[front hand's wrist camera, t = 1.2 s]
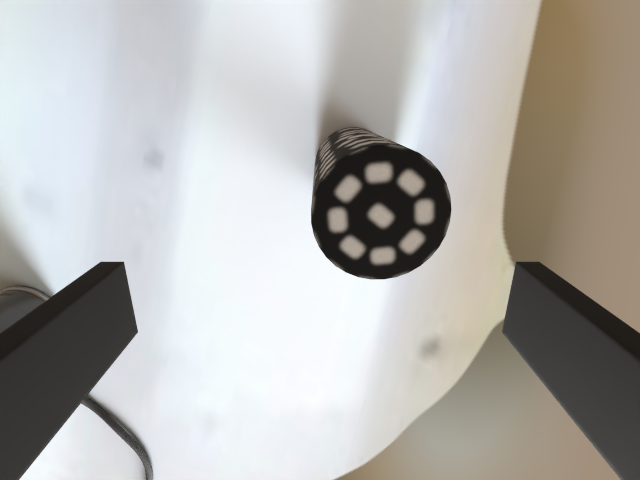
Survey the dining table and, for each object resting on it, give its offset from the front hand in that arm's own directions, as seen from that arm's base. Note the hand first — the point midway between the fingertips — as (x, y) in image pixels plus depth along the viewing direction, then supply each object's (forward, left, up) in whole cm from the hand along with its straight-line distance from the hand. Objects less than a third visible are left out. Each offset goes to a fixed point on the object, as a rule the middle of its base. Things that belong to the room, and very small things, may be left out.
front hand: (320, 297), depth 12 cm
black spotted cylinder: (0, +4, -20) cm, 20 cm away
